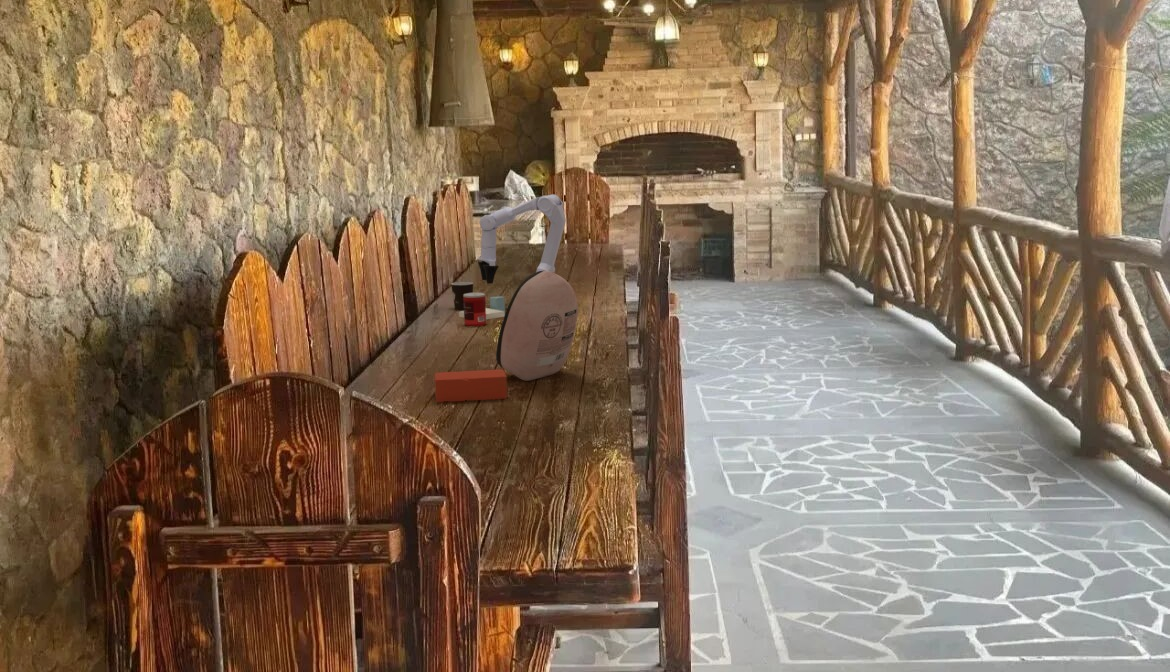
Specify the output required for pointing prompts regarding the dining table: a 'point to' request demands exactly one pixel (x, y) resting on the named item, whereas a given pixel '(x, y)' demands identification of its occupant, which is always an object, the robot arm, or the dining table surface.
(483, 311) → the canned food
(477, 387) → the brick
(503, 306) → the block
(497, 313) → the base tile
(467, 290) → the coffee mug
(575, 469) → the dining table surface
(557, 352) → the packaged food
